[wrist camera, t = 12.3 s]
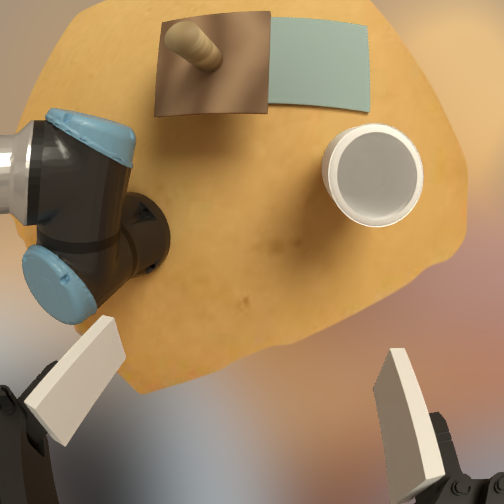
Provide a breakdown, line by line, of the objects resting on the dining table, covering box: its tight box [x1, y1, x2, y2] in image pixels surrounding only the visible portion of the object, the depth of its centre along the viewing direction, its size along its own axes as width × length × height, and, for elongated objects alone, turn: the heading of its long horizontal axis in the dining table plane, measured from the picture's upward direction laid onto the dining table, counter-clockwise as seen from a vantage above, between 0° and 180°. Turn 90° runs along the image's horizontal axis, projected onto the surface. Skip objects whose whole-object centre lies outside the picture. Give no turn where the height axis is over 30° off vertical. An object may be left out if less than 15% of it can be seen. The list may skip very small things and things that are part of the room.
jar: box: [321, 123, 424, 227], centre depth 31 cm, size 11×10×15 cm
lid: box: [154, 11, 271, 118], centre depth 23 cm, size 14×14×10 cm
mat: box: [268, 17, 370, 112], centre depth 32 cm, size 15×15×1 cm
